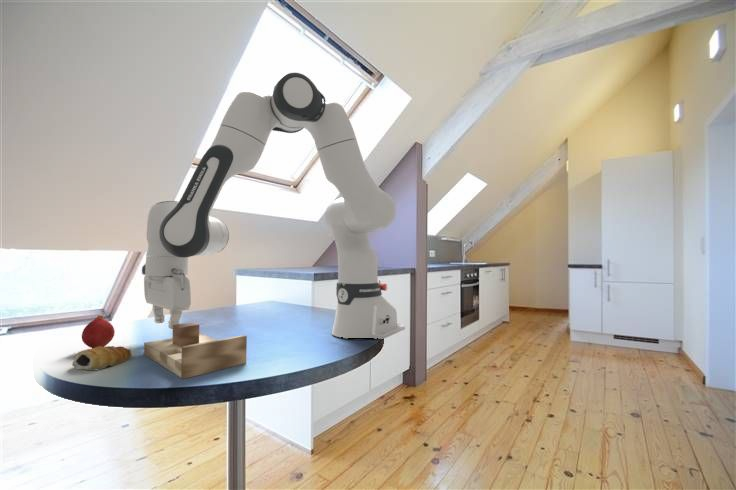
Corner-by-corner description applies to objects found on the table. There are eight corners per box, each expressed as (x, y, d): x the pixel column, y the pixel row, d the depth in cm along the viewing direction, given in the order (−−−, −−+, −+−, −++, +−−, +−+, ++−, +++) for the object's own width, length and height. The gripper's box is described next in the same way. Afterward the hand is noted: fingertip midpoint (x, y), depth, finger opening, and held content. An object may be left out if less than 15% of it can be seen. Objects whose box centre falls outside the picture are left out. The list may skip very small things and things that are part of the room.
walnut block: (191, 339, 78) (191, 322, 78) (199, 343, 76) (199, 324, 76) (172, 343, 75) (172, 324, 75) (179, 346, 73) (179, 327, 73)
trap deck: (200, 343, 84) (200, 321, 85) (246, 363, 70) (246, 335, 70) (143, 354, 75) (144, 329, 76) (183, 378, 61) (183, 347, 61)
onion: (85, 355, 74) (86, 318, 74) (78, 351, 78) (79, 315, 78) (117, 349, 79) (118, 314, 79) (109, 345, 82) (109, 312, 82)
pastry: (116, 356, 75) (117, 338, 75) (140, 359, 73) (140, 341, 73) (68, 369, 66) (68, 349, 66) (94, 373, 64) (94, 353, 64)
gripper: (198, 269, 79) (197, 329, 79) (166, 266, 93) (165, 318, 92) (168, 270, 74) (167, 334, 74) (139, 267, 88) (138, 321, 88)
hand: (166, 325), depth 83 cm, fingers open, 8 cm apart
